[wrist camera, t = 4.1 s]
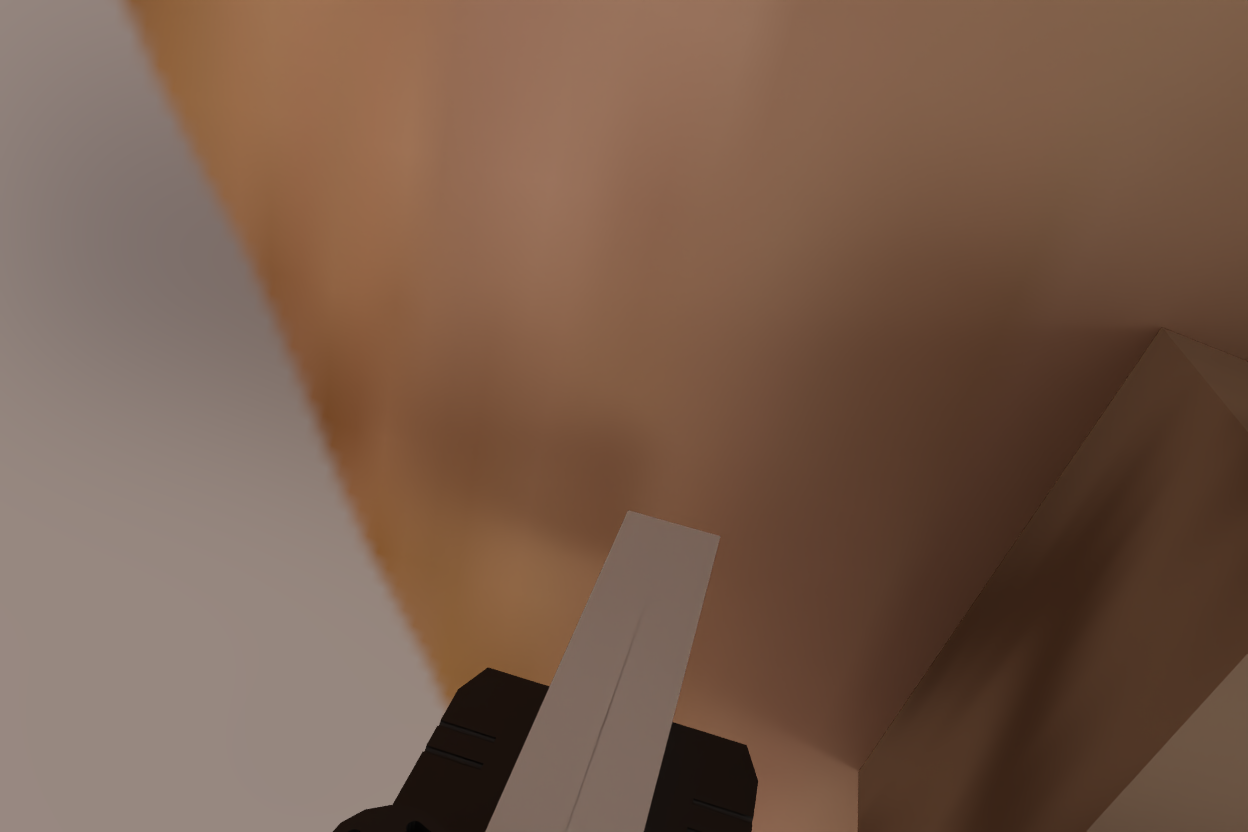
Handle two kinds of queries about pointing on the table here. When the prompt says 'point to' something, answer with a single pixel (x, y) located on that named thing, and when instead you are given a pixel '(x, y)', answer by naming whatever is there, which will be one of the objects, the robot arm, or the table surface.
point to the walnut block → (1100, 637)
